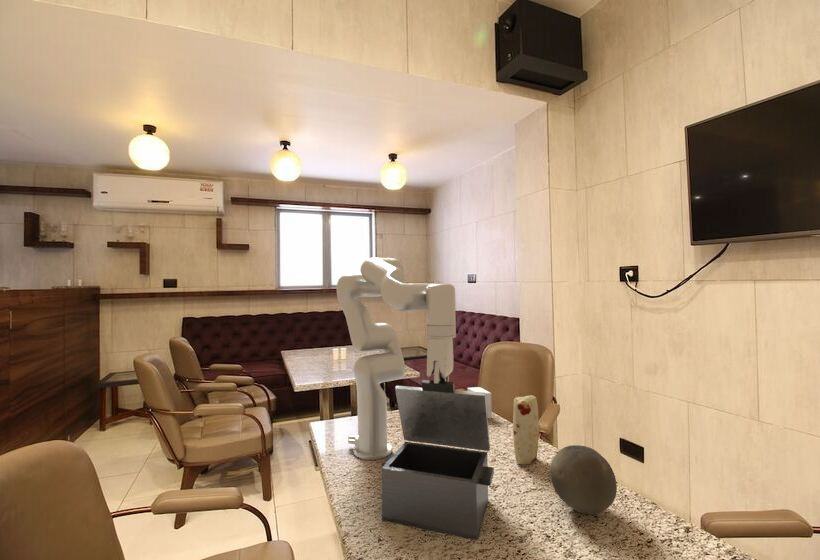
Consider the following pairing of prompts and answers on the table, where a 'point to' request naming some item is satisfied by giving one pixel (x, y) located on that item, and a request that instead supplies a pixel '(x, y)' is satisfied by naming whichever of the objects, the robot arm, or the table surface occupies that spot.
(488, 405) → the skincare box
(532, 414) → the food model
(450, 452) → the grey lidded box
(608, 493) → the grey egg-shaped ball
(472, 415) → the lid
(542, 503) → the table surface
